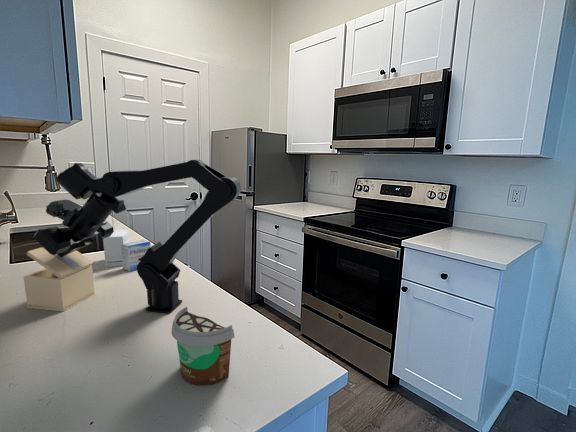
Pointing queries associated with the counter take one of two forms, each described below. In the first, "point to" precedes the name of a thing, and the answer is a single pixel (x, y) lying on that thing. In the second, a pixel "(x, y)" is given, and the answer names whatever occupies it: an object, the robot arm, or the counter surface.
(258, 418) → the counter surface
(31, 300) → the carton
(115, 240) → the skincare box
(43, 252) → the carton lid
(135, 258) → the medicine box
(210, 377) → the food container
